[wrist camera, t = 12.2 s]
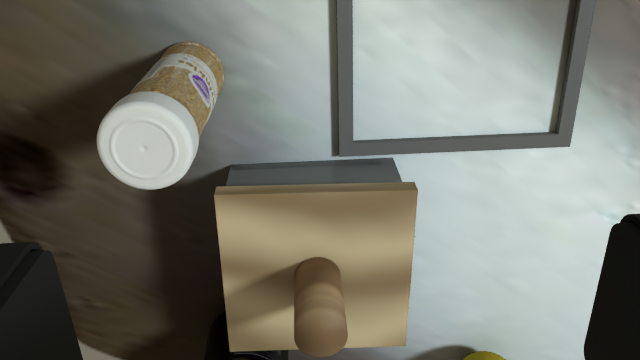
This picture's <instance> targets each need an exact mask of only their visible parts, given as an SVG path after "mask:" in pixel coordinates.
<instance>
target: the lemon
mask: <svg viewBox="0 0 640 360" xmlns="http://www.w3.org/2000/svg"><path fill="white" fill-rule="evenodd" d="M463 360H505V359H504V358H503V357H501V356H500V355H497V354H495V353H492V352H487V351H479V352H475V353H472V354H470V355H468V356H467V357H465V358H464V359H463Z"/></svg>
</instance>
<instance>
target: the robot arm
mask: <svg viewBox="0 0 640 360" xmlns="http://www.w3.org/2000/svg"><path fill="white" fill-rule="evenodd" d="M584 356H585V360H640V214H628V215H626V216H624V217H623V219H622V220H621V222H620V223H617V224H615V225H614V226H613V227H612V229H611V232H610V235H609V240H608V244H607V248H606V253H605V257H604V261H603V266H602V270H601V274H600V279H599V283H598V287H597V292H596V296H595V300H594V305H593V309H592V313H591V318H590V322H589V326H588V331H587V335H586V339H585V344H584ZM0 360H83V358H82V355H81V351H80V347H79V344H78V340H77V337H76V333H75V330H74V326H73V323H72V319H71V316H70V312H69V309H68V305H67V302H66V298H65V295H64V291H63V288H62V284H61V281H60V277H59V274H58V270H57V267H56V264H55V260H54V257H53V255H52V253H51V252H50V251H48V250H42V247H41V246H40V245H39V244H38V243H36V242H23V243H4V244H3V243H2V244H0Z"/></svg>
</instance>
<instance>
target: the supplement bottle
mask: <svg viewBox="0 0 640 360" xmlns="http://www.w3.org/2000/svg"><path fill="white" fill-rule="evenodd" d="M204 360H288V350H267V351H236V352H230V348H229V338H228V328H227V318H226V311H225V312H223V313H222V314H220V315H219V316H218V317H217V318H216V319H215V321H214V322H213V324H212V326H211V328H210V331H209V335H208V340H207V345H206V350H205V355H204Z"/></svg>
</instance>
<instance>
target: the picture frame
mask: <svg viewBox="0 0 640 360" xmlns="http://www.w3.org/2000/svg"><path fill="white" fill-rule="evenodd" d="M595 3H596V0H577V6H576V12H575V18H574V24H573V30H572V36H571V42H570V48H569V54H568V60H567V66H566V72H565V79H564V85H563V91H562V97H561V103H560V109H559V115H558V121H557V127H556V132H544V133H521V134H498V135H475V136H452V137H428V138H405V139H382V140H359V141H353V17H352V0H336V4H337V63H338V123H339V157H343V156H366V155H389V154H412V153H434V152H457V151H480V150H503V149H526V148H549V147H570V143H571V137H572V132H573V126H574V121H575V115H576V109H577V104H578V98H579V93H580V87H581V81H582V76H583V70H584V65H585V59H586V54H587V48H588V42H589V37H590V31H591V26H592V20H593V15H594V9H595Z"/></svg>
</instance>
